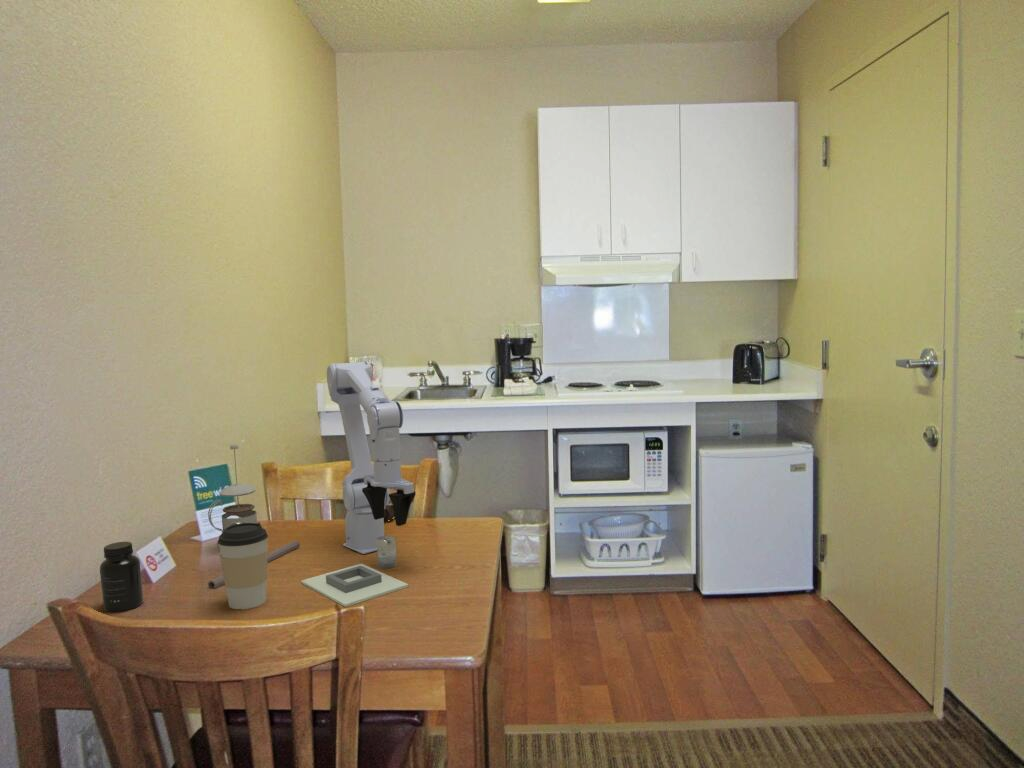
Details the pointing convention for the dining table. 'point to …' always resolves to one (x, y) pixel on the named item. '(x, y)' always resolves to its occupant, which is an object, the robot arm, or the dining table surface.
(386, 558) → the key peg
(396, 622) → the dining table surface
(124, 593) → the supplement bottle
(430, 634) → the dining table surface
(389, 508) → the bolt
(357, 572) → the socket
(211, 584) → the metal rod
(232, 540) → the coffee cup
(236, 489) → the french press
